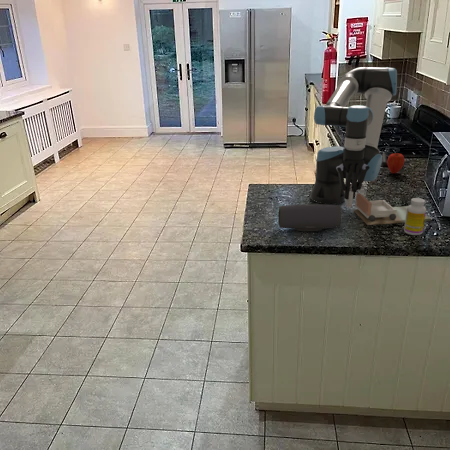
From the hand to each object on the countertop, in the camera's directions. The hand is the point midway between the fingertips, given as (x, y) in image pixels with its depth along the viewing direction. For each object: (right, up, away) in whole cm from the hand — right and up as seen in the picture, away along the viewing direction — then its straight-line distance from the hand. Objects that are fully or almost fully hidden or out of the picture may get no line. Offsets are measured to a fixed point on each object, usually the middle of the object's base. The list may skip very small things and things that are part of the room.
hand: (348, 206), depth 179 cm
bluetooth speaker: (-17, -9, -6) cm, 20 cm away
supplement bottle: (+21, -10, -11) cm, 26 cm away
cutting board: (+18, -4, +4) cm, 19 cm away
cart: (+11, -3, +3) cm, 12 cm away
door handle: (+46, +27, +75) cm, 92 cm away
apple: (+39, +20, +56) cm, 72 cm away
